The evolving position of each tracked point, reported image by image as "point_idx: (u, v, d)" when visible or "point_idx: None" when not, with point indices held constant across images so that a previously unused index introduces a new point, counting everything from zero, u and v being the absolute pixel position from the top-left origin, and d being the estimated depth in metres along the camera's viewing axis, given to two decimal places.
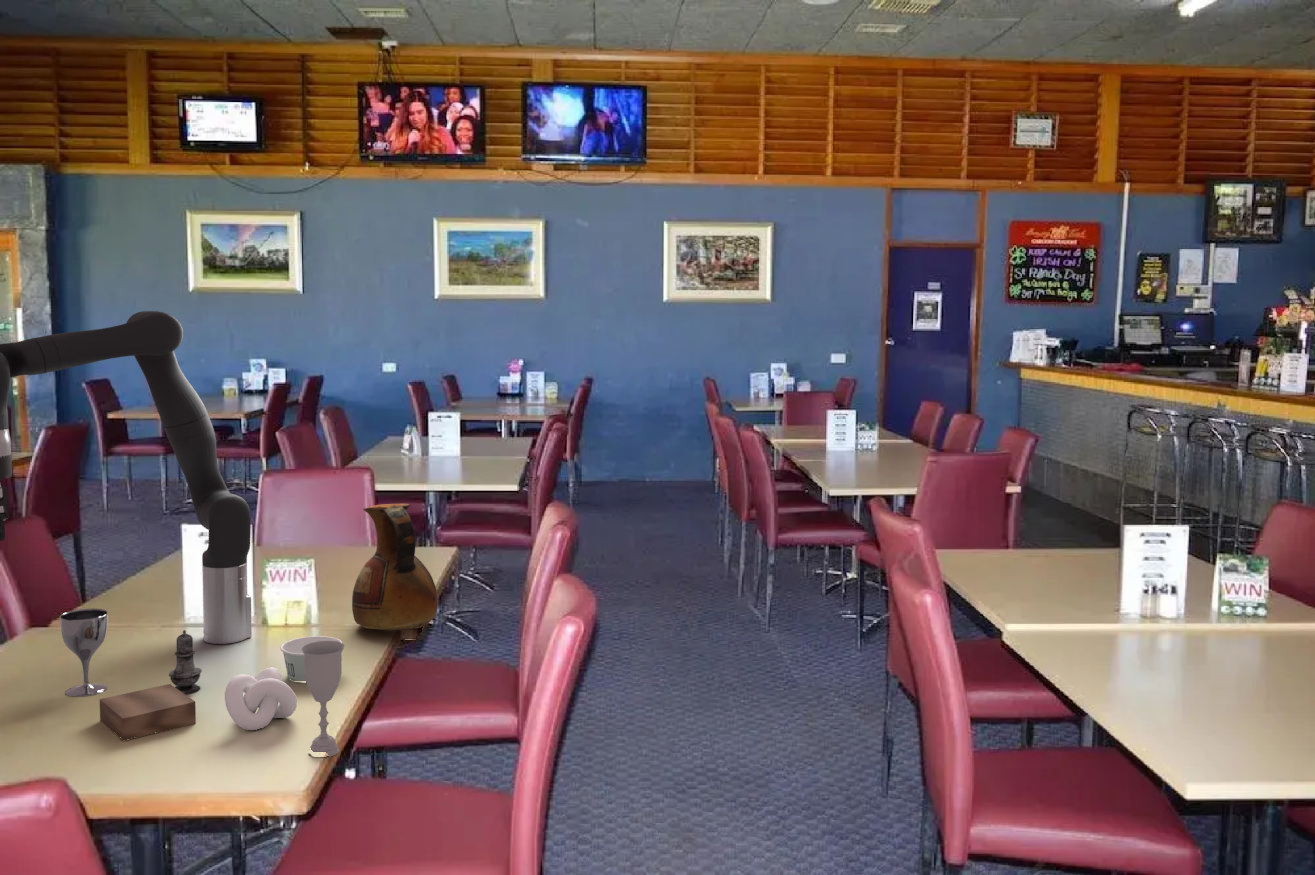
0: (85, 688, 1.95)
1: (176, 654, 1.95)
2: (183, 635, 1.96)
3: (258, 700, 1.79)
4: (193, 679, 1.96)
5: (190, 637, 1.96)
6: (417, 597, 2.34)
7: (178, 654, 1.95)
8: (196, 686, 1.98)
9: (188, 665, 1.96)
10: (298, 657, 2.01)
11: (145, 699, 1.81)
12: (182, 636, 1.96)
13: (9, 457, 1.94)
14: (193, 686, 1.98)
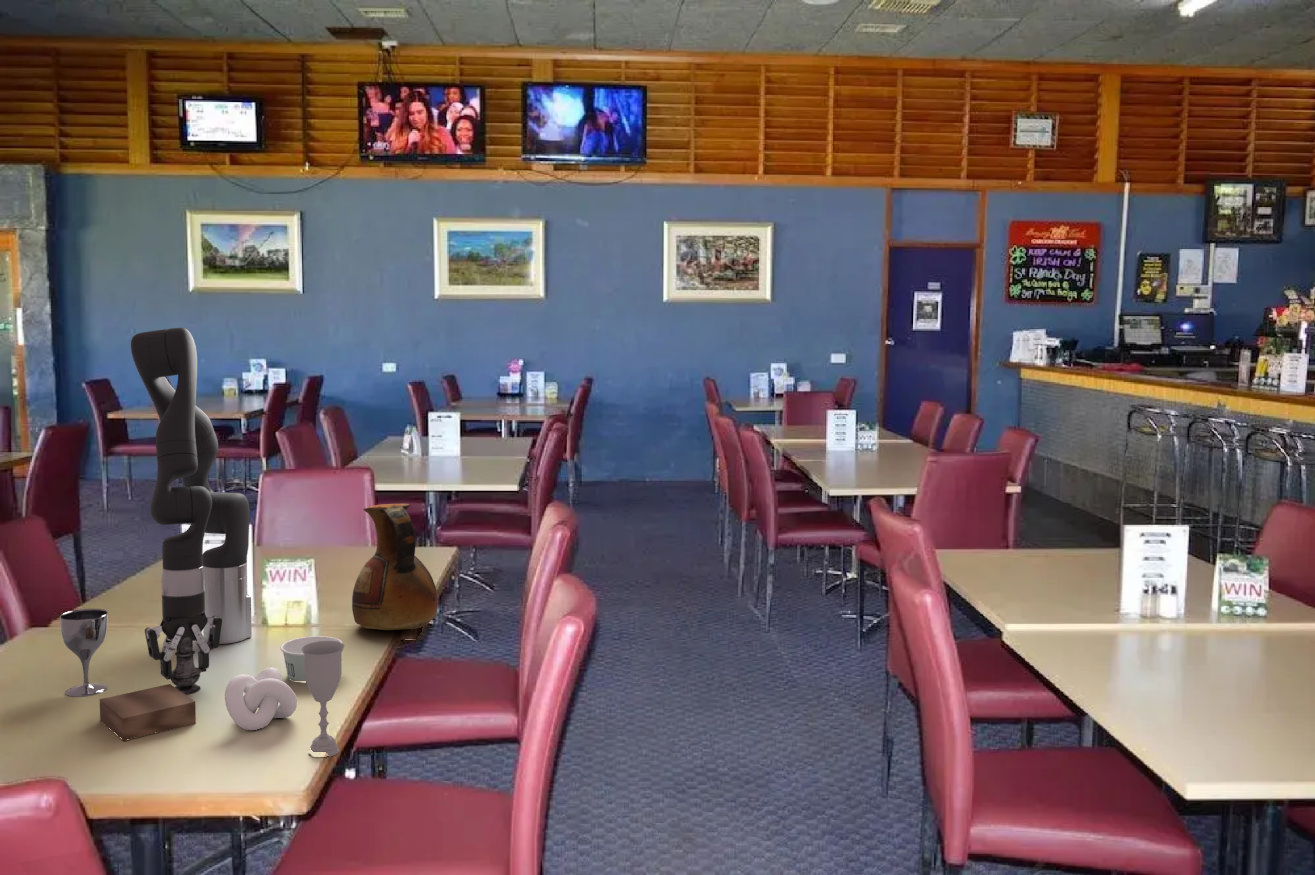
0: (85, 688, 1.95)
1: (176, 654, 1.95)
2: None
3: (258, 700, 1.79)
4: (193, 679, 1.96)
5: None
6: (417, 597, 2.34)
7: (178, 653, 1.95)
8: (196, 686, 1.98)
9: (188, 665, 1.96)
10: (298, 657, 2.01)
11: (145, 699, 1.81)
12: None
13: None
14: (193, 686, 1.98)
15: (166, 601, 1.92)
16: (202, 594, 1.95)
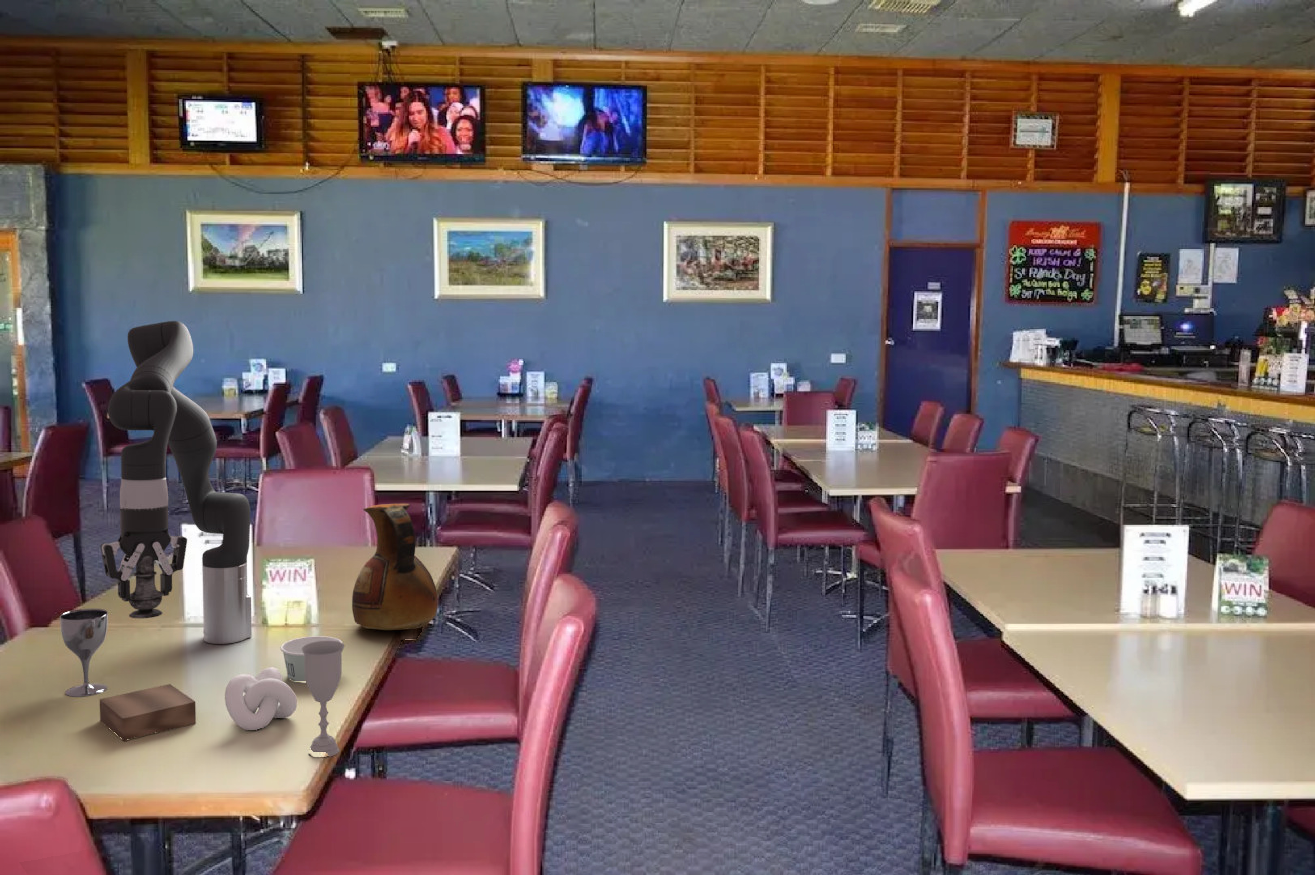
0: (85, 688, 1.95)
1: (135, 574, 1.78)
2: None
3: (258, 700, 1.79)
4: (154, 602, 1.79)
5: None
6: (417, 597, 2.34)
7: (137, 573, 1.78)
8: (157, 611, 1.81)
9: (148, 586, 1.79)
10: (298, 657, 2.01)
11: (145, 699, 1.81)
12: None
13: None
14: (154, 611, 1.81)
15: (125, 514, 1.75)
16: (164, 508, 1.78)
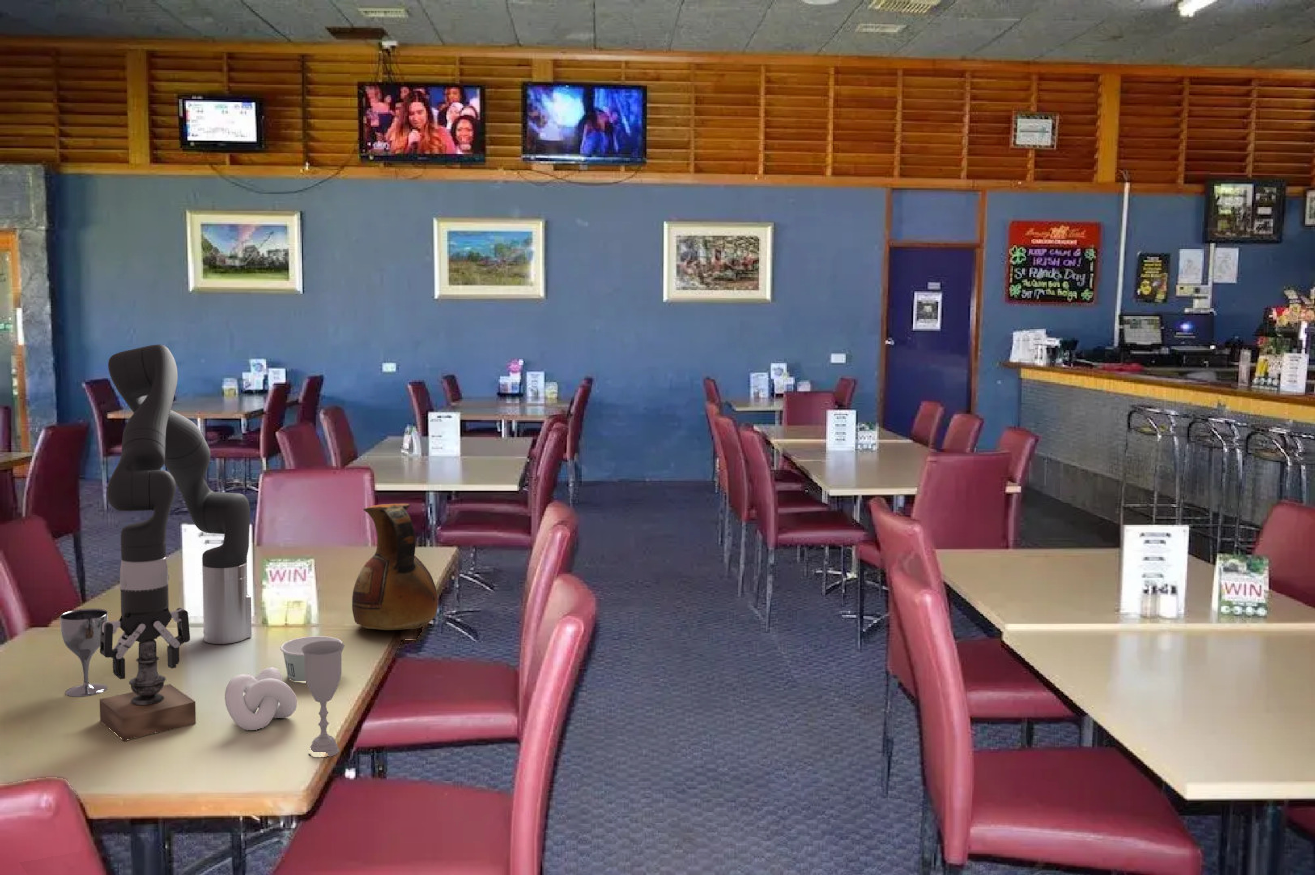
0: (85, 688, 1.95)
1: (138, 660, 1.79)
2: None
3: (258, 700, 1.79)
4: (156, 688, 1.79)
5: (154, 642, 1.80)
6: (417, 597, 2.34)
7: (140, 659, 1.79)
8: (159, 696, 1.82)
9: (150, 672, 1.79)
10: (298, 657, 2.01)
11: None
12: (145, 640, 1.79)
13: None
14: (156, 696, 1.81)
15: (125, 595, 1.75)
16: (164, 587, 1.78)
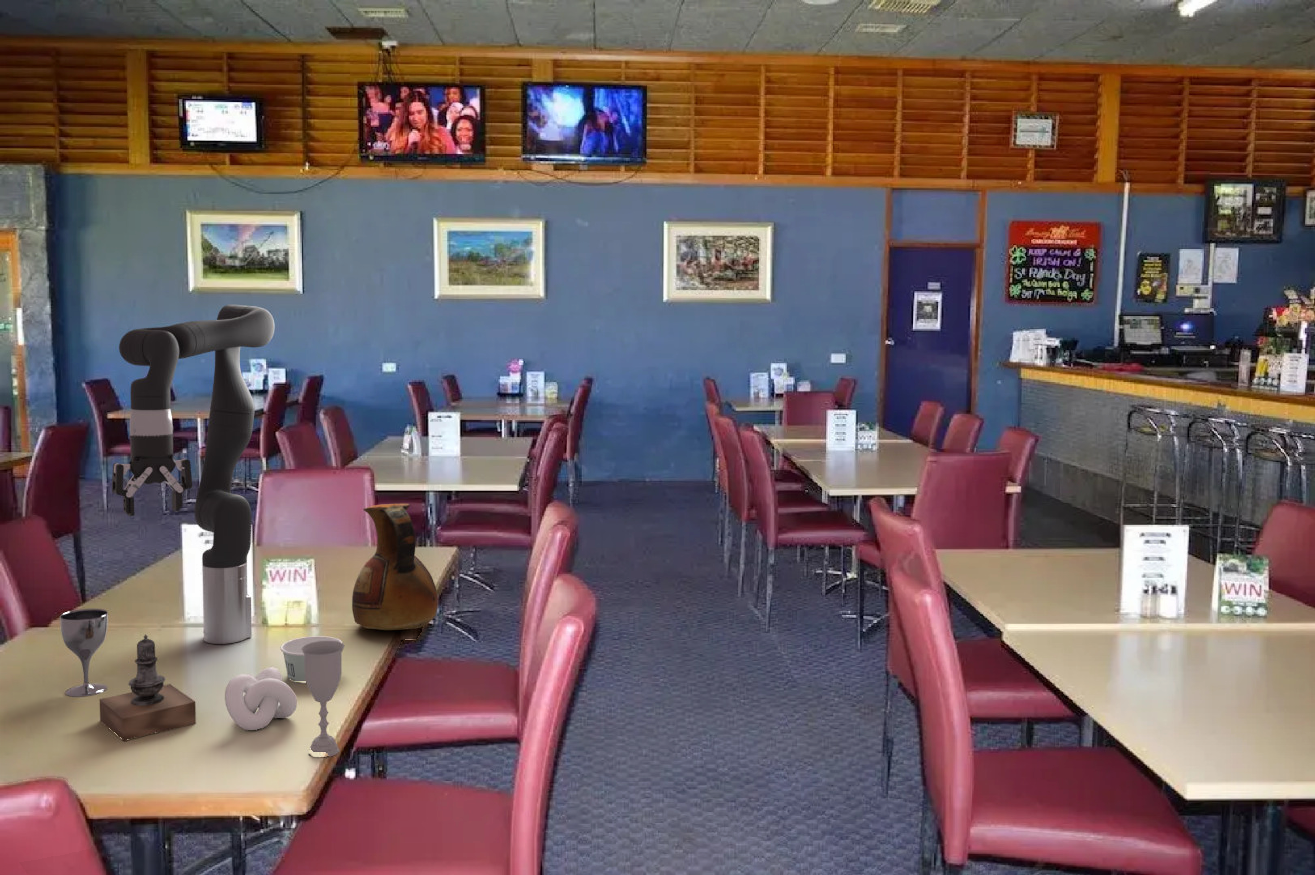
0: (85, 688, 1.95)
1: (137, 661, 1.79)
2: (144, 640, 1.79)
3: (258, 700, 1.79)
4: (156, 689, 1.79)
5: (152, 642, 1.80)
6: (417, 597, 2.34)
7: (139, 661, 1.79)
8: (159, 696, 1.82)
9: (149, 673, 1.79)
10: (298, 657, 2.01)
11: None
12: (143, 641, 1.79)
13: None
14: (156, 696, 1.81)
15: (134, 440, 1.97)
16: (169, 436, 2.00)
